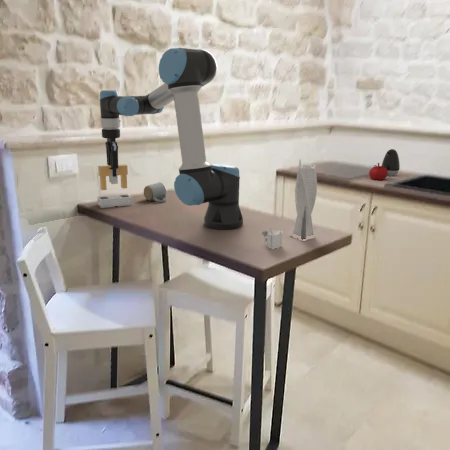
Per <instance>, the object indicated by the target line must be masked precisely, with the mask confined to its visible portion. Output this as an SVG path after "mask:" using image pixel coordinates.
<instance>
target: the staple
mask: <svg viewBox="0 0 450 450" xmlns="http://www.w3.org/2000/svg"><path fill="white" fill-rule="evenodd" d="M109 168H111V165H97V174H98V177H99V185H100V186H99V187H100V190H101V191H107V189H108V188H107V177H109V176H111V170H110V169H109ZM128 175H129V172H128V165H127V164H118V168H117V176H120V188H121V189H123V190H124V189H128Z"/></svg>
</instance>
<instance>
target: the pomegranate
mask: <svg viewBox="0 0 450 450" xmlns="http://www.w3.org/2000/svg"><path fill="white" fill-rule="evenodd" d="M368 172H369V173H368V174H369V178H370V179H371V180H375V181H376V180H377V181H383V180H385V179H386V178H387V177H388V176H387V174H388V171H387V169H386V168H384V166H382V165H380V162H377V164H373V167H371V168H370V169H369V171H368Z"/></svg>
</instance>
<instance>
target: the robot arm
mask: <svg viewBox="0 0 450 450" xmlns="http://www.w3.org/2000/svg"><path fill="white" fill-rule="evenodd" d="M217 72H218V62H217V60H216V57H214V55H213V54H212V53H211V52H209V51H208V50H206V49H200V48H197V49H196V48H184V47H174V48H172V47H171V48H169V49H167V50H165V51H164V53H163V54H162V55H161V58H160V59H159V64H158V75H159V78H160V79H161V81H162V82H163V84H160V86H158V87H156V88H155V89H154V90H151V92H149V93H147V94H146V95H131V96H130V95H129V96H128V95H127V96H126V95H125V96H122V95H119V91H117V90H113V89H112V90H111V89H109V90H101V91H100V92H99V107H100V108H99V109H100V110H99V111H100V126H101V128H102V129H101V137H102V138H103V139H106V141H105V151H106V166H108V165H111V168H109V169H110V170H111V176H108V182H109V183H110V184H111V185H118V184H119V180H118V179H119V178H118V175H117V168H118V165H119V145H118V142H117V141H116V139H119V138H121V129H120V125H121V124H120V123H121V122H122V121H121V119H120V116H123V117H133V116H139V115H141V116H142V115H156V114H160V113H162V112H163V109H164V107H165V106H167V105H169V104H170V103H172V102H173V103H174V109H175V117H176V124H177V125H176V126H177V132H178V139H179V147H180V157H181V165H180V166H179V167H178V175H177V176H176V177H175V180H174V182H173V185H174V186H173V188H174V192H175V195H176V196H177V198H178V200H180V201H181V203H183V204H184V205H186V206H189V207H190V206H200V205H202V204H206V203H208V206H207V207H206V208H207V209H206V212H205V215H204V218H203V225H204V226H205V227H207V228H211V229H215V230H234V229H238V228H240V227H242V226H243V225H244V218H243V214H242V211H241V208H240V178H241V177H240V169H239V168H238V167H237V166H234V165H229V164H223V163H222V164H220V163H209V162H208V161H207V157H206V149H205V142H204V141H205V140H204V132H203V125H202V123H203V121H202V115H201V106H200V100H199V91H200V90H201V88H203V87H205V85H208V84H209V83H210V82H212V81H213V80H214V78H216V75H217Z"/></svg>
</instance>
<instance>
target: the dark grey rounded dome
mask: <svg viewBox="0 0 450 450" xmlns="http://www.w3.org/2000/svg"><path fill="white" fill-rule="evenodd" d="M381 166H384V168H386V169H387V171H388V174H387V177H388V176H389V177H393V176H396V175H397V174H398V173H399V171H400V168H401V167H400V158H399V154H398V151H397V150H396V149H394V148H390V149H388V150H387V151H386V153H385V155H384V156H383V160H382V163H381Z"/></svg>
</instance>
